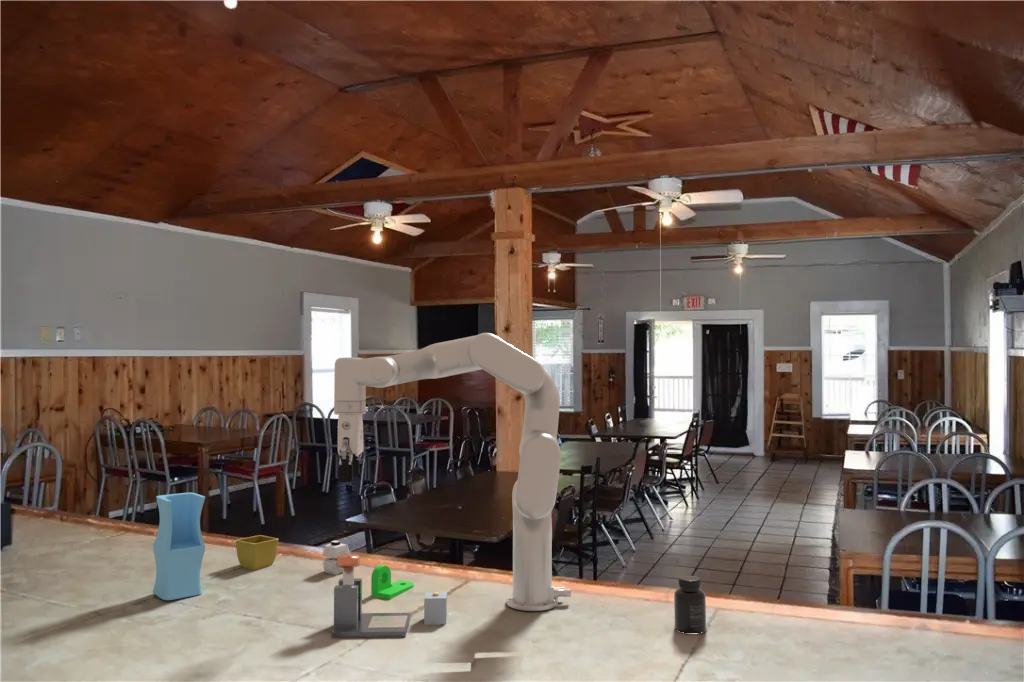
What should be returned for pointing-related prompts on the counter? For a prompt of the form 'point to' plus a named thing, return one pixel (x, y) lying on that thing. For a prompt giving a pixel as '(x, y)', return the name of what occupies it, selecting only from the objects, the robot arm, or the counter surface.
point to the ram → (348, 566)
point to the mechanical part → (387, 584)
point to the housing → (435, 608)
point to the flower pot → (256, 551)
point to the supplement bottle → (690, 605)
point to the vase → (178, 546)
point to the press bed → (363, 616)
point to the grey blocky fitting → (334, 556)
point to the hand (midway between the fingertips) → (349, 478)
